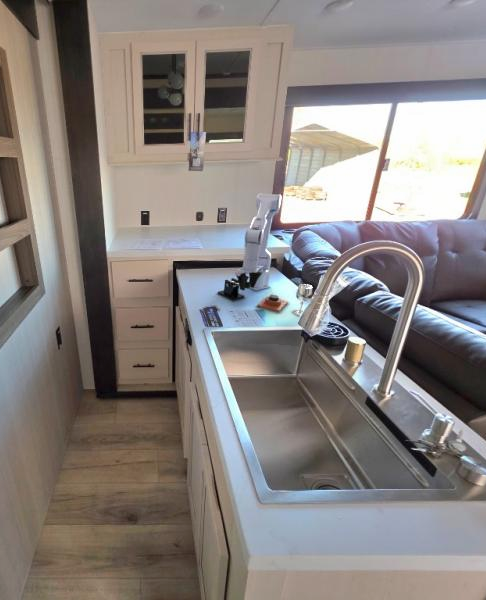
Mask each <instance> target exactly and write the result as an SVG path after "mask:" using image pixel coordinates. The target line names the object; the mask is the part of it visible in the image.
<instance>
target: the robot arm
mask: <svg viewBox="0 0 486 600" xmlns="http://www.w3.org/2000/svg"><path fill="white" fill-rule="evenodd" d="M281 204H282V195H281V194H280V193H279V194H274V193H273V194H271V193H258V194H257V196H256V201H255V207H256V210H257V214H256V216H254V217H253V219H252V221H251V223H250V226H249V228H248V229H247V230H246V231H245V233H244V255H243V263H242V267H241V268H238V269H235V273H234V275H235V276H236V279H237V280H238V281H239V291H242V292H243V291H245V290H246V288H245V287H246V283H247V282H250V283H251V287H250V288H249V289H251V290H254V291H260V290H264V289H267V288H270V285H269V281H270V277H271V273H270V271H269V270H270V268H271V264H272V254H271V253H270V252H269V251H268V244H269V239H270V233H271V228H272V222H273V219H274V217H275V215H277V214H279V212H280V209H281ZM247 274H248V275H249V276H248V275H247Z"/></svg>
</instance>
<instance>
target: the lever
mask: <svg viewBox="0 0 486 600" xmlns="http://www.w3.org/2000/svg"><path fill="white" fill-rule="evenodd" d="M230 281H231V280H230ZM231 282H234V283H233V287H235V286H239V283H236V281H231ZM239 287H240V286H239ZM250 287H251V283H250V282H249V281H247V283H246V287H245V289H251V288H250Z"/></svg>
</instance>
